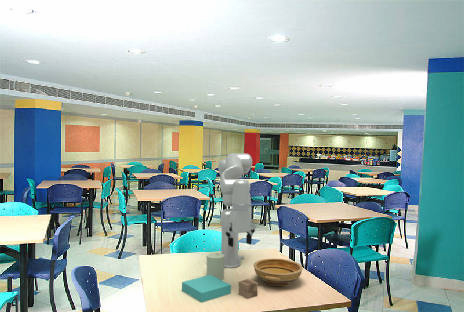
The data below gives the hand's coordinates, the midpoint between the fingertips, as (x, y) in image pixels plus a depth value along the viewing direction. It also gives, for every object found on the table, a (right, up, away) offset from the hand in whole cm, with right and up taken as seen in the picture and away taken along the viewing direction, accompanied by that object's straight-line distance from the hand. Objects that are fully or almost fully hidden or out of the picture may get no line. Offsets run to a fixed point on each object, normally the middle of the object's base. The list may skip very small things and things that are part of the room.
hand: (239, 245), depth 166 cm
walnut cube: (+4, -22, -3) cm, 22 cm away
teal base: (-15, -21, 0) cm, 26 cm away
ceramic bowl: (+19, -22, +15) cm, 33 cm away
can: (-12, -21, +18) cm, 30 cm away
